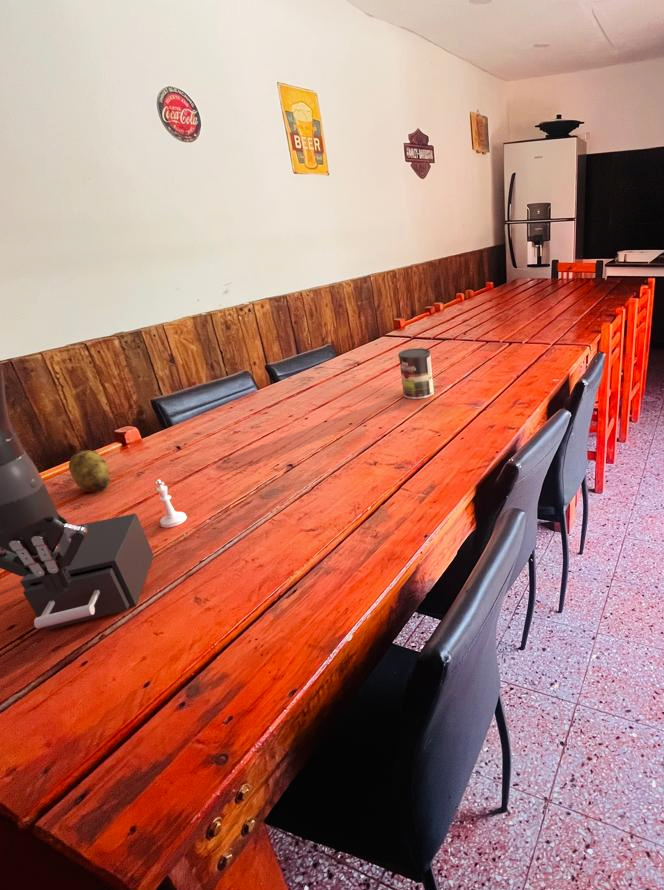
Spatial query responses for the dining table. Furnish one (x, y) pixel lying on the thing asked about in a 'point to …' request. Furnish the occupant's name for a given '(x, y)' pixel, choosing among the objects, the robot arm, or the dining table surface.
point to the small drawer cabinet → (111, 554)
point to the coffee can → (416, 373)
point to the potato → (89, 471)
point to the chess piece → (169, 508)
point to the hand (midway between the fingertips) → (62, 589)
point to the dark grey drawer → (78, 599)
